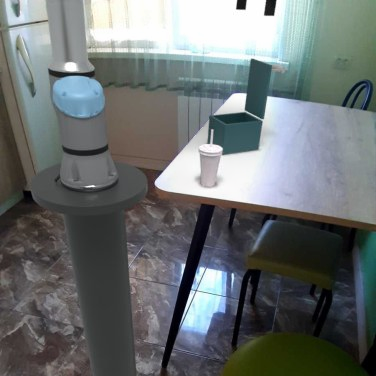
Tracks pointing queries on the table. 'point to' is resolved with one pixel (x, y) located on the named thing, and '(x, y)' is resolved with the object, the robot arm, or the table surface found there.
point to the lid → (259, 86)
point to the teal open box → (235, 132)
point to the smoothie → (209, 162)
